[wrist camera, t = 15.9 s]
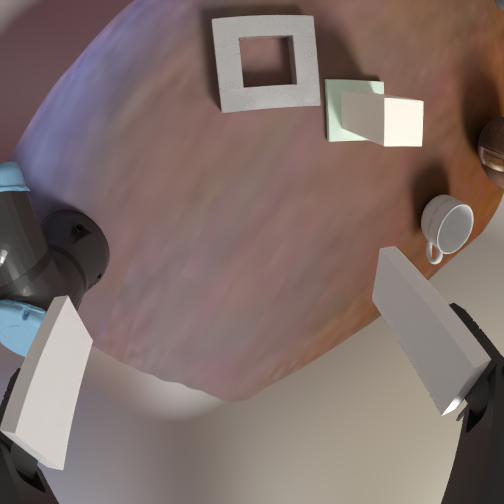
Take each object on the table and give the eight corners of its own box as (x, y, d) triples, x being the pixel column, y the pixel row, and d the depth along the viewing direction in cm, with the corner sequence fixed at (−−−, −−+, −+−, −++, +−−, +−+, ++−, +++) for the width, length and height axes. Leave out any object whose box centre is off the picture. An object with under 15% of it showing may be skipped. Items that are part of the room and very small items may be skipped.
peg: (341, 128, 44) (384, 146, 33) (340, 91, 41) (384, 97, 30) (374, 128, 44) (421, 146, 33) (374, 92, 41) (423, 101, 30)
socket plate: (221, 111, 41) (222, 113, 39) (211, 23, 34) (211, 19, 31) (313, 104, 42) (320, 105, 40) (306, 19, 35) (313, 15, 32)
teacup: (434, 179, 52) (459, 194, 45) (458, 204, 55) (482, 220, 49) (397, 235, 57) (418, 256, 50) (424, 254, 61) (444, 274, 54)
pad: (327, 140, 46) (329, 141, 45) (324, 79, 40) (326, 79, 40) (380, 138, 46) (383, 139, 45) (380, 81, 41) (383, 82, 40)
